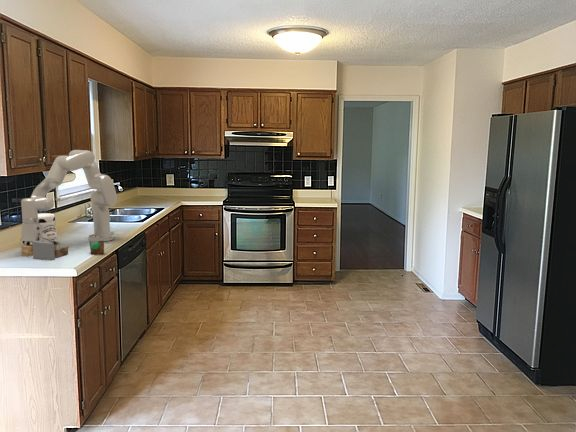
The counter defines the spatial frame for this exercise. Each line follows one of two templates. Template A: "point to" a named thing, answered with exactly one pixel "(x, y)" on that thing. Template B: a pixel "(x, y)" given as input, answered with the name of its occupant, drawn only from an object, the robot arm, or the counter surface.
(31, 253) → the oak bar
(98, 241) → the food container
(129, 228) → the counter surface
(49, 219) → the milk container
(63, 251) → the cradle
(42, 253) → the wall
